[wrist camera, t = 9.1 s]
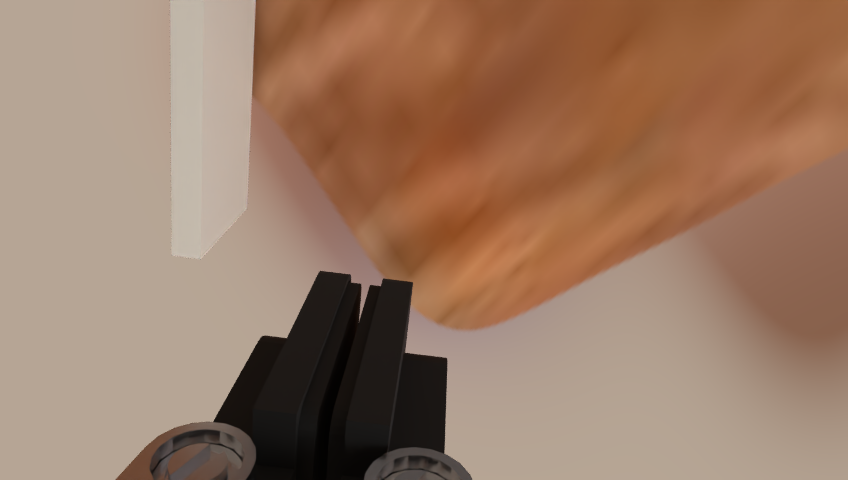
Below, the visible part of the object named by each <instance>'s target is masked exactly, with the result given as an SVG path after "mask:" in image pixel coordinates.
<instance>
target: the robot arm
mask: <svg viewBox="0 0 848 480" xmlns="http://www.w3.org/2000/svg"><path fill="white" fill-rule="evenodd" d="M412 287H413V282H407V281H399V280H390V279H383V280H382V284H381V286H374V285H370V287H369V291H368V294H367V297H366V301H365V304H364V307H363V311H362V314H361V318H360V321H359V314H360V301H361V284H357V283H351V275H350V274H341V273H333V272H324V271H320V272H319V273H318V275H317V277H316V279H315V281H314V284H313V286H312V288H311V290H310V292H309V294H308V296H307V298H306V300H305V302H304V304H303V306H302V308H301V310H300V312H299V315H298V317H297V319H296V321H295V323H294V325H293V327H292V329H291V331H290V333H289V335H288V337H287V338H280V337H272V336H262V337H261V338H260V340H259V341H258V343H257V345H256V346H255V348H254V350H253V352H252V353H251V355H250V357H249V359H248V361H247V362H246V364H245V366H244V368H243V370H242V371H241V373H240V375H239V377H238V378H237V380H236V382H235V384H234V386H233V387H232V389H231V391H230V393H229V394H228V396H227V398H226V400H225V402H224V403H223V405H222V407H221V409H220V411H219V412H218V414H217V416H216V418H215V419H214V421H213V422H199V423H190V424H187V425H183V426H179V427H176V428H173V429H171V430H169V431H167V432H165V433H163V434H161V435H160V436H158V437H157V438H156V439H154V440H153V441H152V442H151V443H149V444H148V445H147V446H146V447H145V448H144V450H142V451H141V452H140V454H139V455H138V456H137V457H136V458H135V459H134V460H133V461H132V462H131V464H129V466H128V467H127V468H126V469H125V470H124V471H123V472H122V473H121V474H120V475H119V476H118V478H117V479H116V480H472V478H471V476H470V474H469V473H468V472H467V471H466V470H465V468H464V467H463V466H462V465H461V464H460V463H459V462H457V461H456V460H454V459H453V458H451V457H449V456H448V455H446V454H444V448H445V447H444V446H445V417H446V388H447V358H442V357H434V356H426V355H417V354H410V353H405V348H406V339H407V330H408V322H409V313H410V305H411V296H412Z"/></svg>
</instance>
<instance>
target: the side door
mask: <svg viewBox="0 0 848 480" xmlns="http://www.w3.org/2000/svg"><path fill="white" fill-rule="evenodd" d="M255 6H256V0H170V94H171V96H170V98H171V233H172V234H171V237H172V238H171V247H172V256H179V257H187V258H194V259H201V258H202V257H203V256H204V255H205V254H206V253H207V252H208V251H209V250H210V249H211V247H212V246H213V245H214V244H215V243H216V242H217V241H218V240H219V239H220V238H221V237H222V236H223V234H224V233H225V232H226V231H227V230H228V229H229V228H230V227H231V226H232V225H233V224H234V222H235V221H236V220H237V219H238V218H239V217H240V216H241V215H242V214H243V213H244V212H245V210H246V209H247V204H248V180H249V155H250V130H251V105H252V80H253V56H254V31H255Z"/></svg>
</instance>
